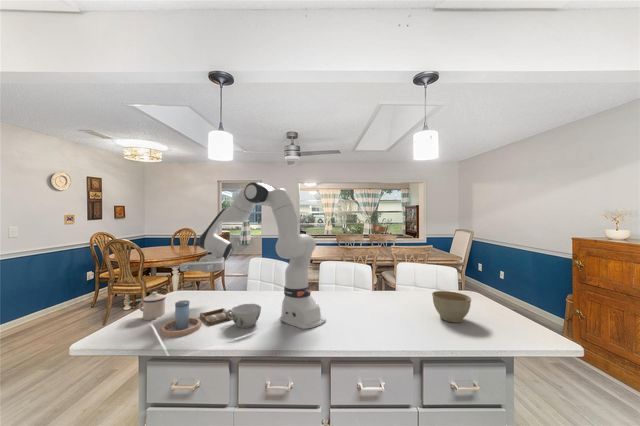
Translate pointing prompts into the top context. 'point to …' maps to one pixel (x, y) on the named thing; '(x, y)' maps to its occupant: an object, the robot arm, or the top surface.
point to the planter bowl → (451, 305)
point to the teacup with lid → (153, 306)
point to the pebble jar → (181, 315)
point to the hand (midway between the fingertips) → (196, 268)
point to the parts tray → (207, 315)
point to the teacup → (245, 315)
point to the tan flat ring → (180, 332)
